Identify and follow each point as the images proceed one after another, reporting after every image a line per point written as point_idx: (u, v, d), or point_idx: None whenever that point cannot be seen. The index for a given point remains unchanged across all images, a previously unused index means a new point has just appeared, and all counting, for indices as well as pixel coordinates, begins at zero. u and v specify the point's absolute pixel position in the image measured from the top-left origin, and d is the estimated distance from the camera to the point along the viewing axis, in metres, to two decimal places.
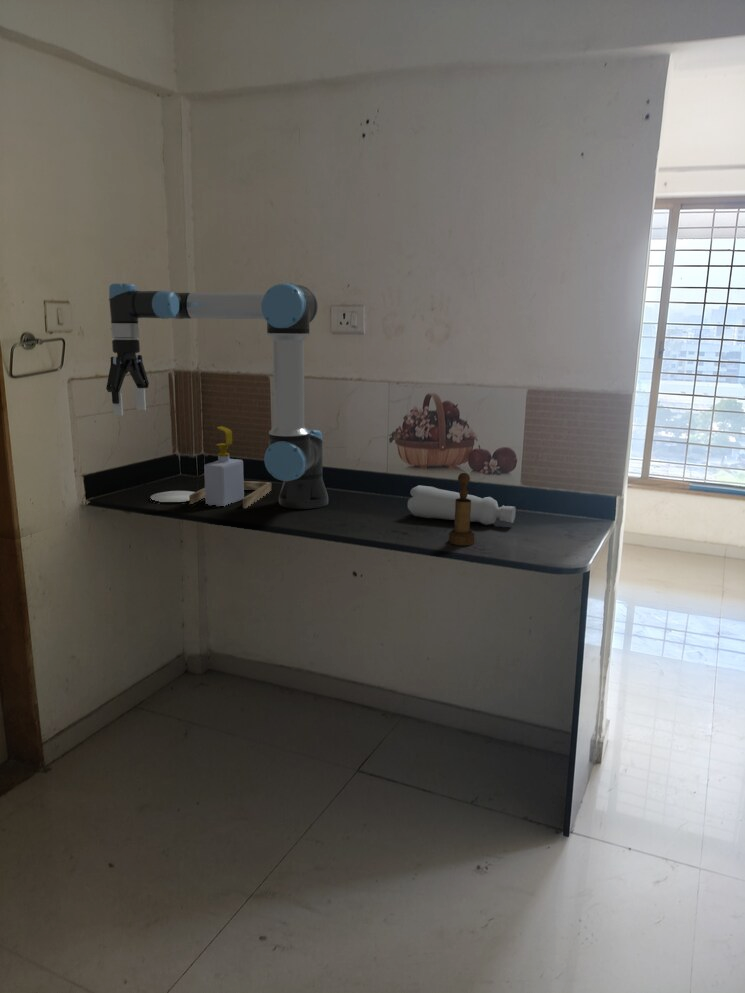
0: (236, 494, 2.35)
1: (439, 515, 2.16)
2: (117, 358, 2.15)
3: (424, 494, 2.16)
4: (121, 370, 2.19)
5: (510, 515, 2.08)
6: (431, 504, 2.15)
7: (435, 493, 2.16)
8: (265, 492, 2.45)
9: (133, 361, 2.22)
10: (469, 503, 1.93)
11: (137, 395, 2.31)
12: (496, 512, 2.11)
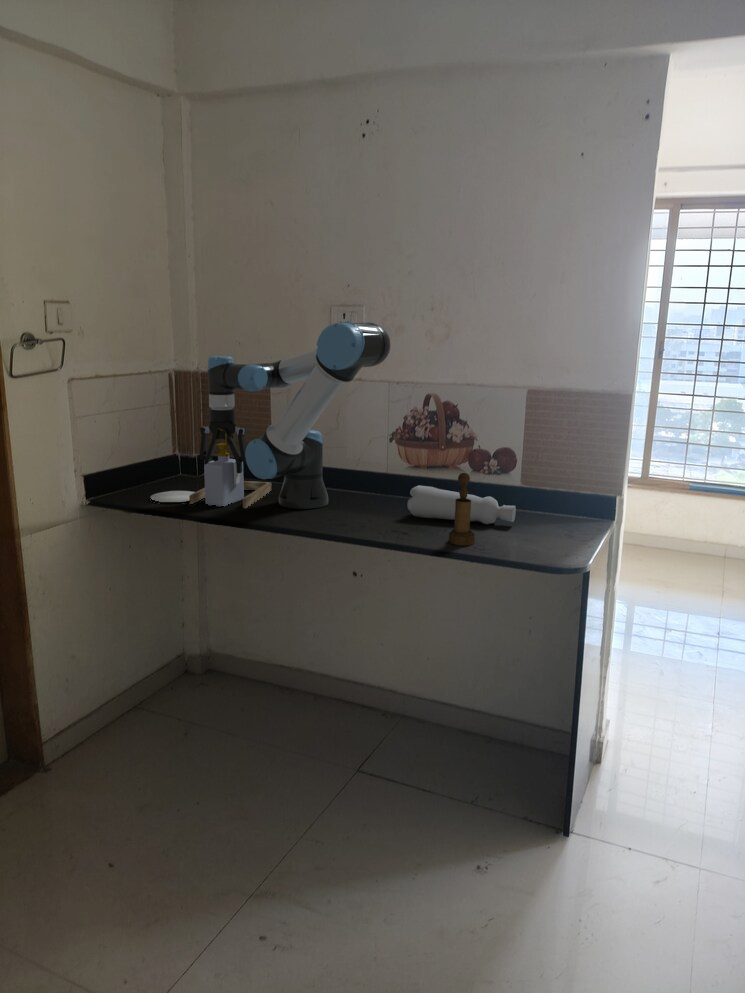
0: (236, 494, 2.35)
1: (439, 515, 2.16)
2: None
3: (425, 494, 2.16)
4: None
5: (511, 515, 2.09)
6: (431, 504, 2.15)
7: (435, 493, 2.16)
8: (265, 492, 2.45)
9: None
10: (469, 503, 1.93)
11: None
12: (497, 511, 2.11)
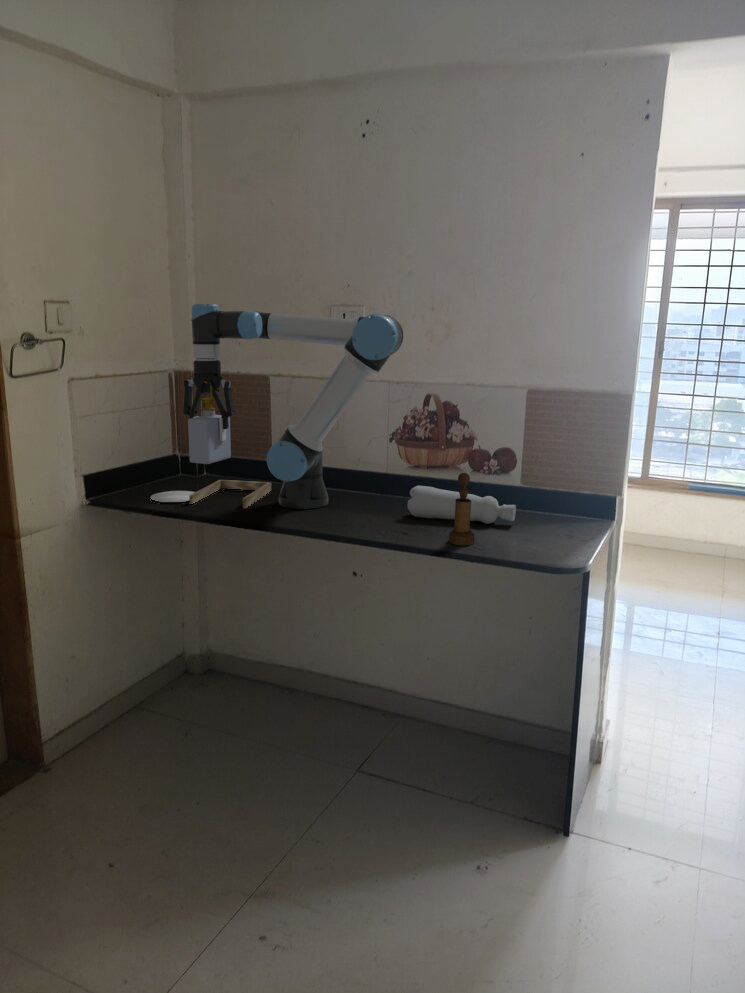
0: (222, 452, 2.22)
1: (440, 515, 2.16)
2: None
3: (425, 494, 2.16)
4: None
5: (512, 514, 2.10)
6: (432, 504, 2.15)
7: (435, 493, 2.16)
8: (265, 492, 2.45)
9: None
10: (469, 503, 1.93)
11: None
12: (497, 510, 2.12)
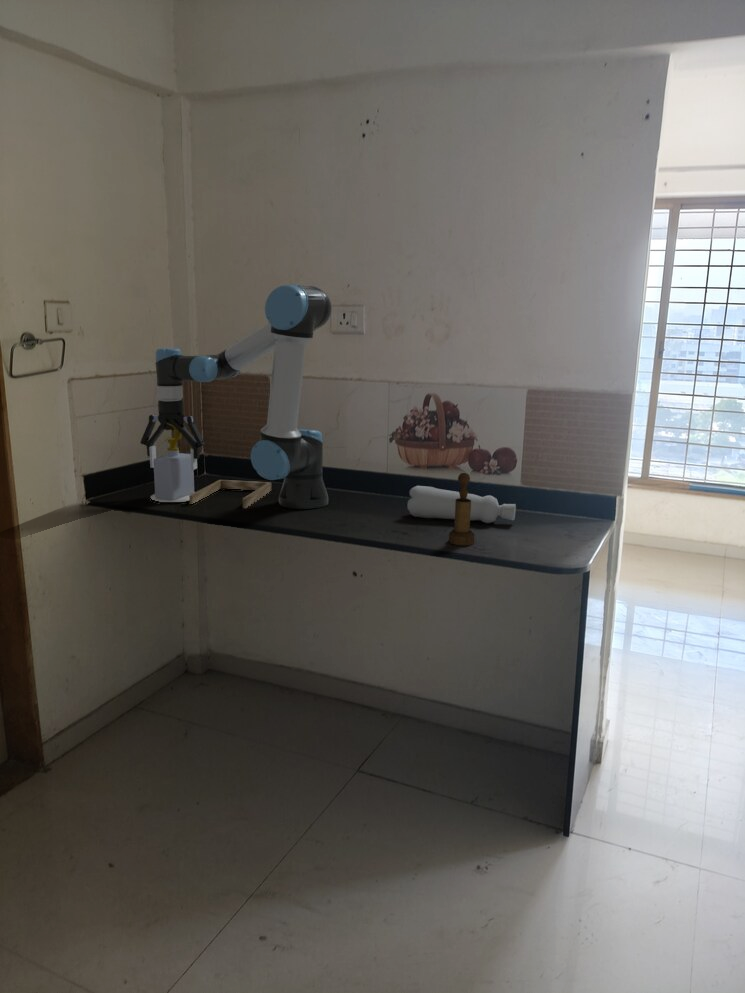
0: (186, 488, 2.39)
1: (440, 515, 2.16)
2: None
3: (425, 494, 2.16)
4: None
5: (513, 513, 2.11)
6: (432, 504, 2.15)
7: (435, 493, 2.16)
8: (265, 492, 2.45)
9: None
10: (469, 503, 1.93)
11: None
12: (497, 510, 2.13)
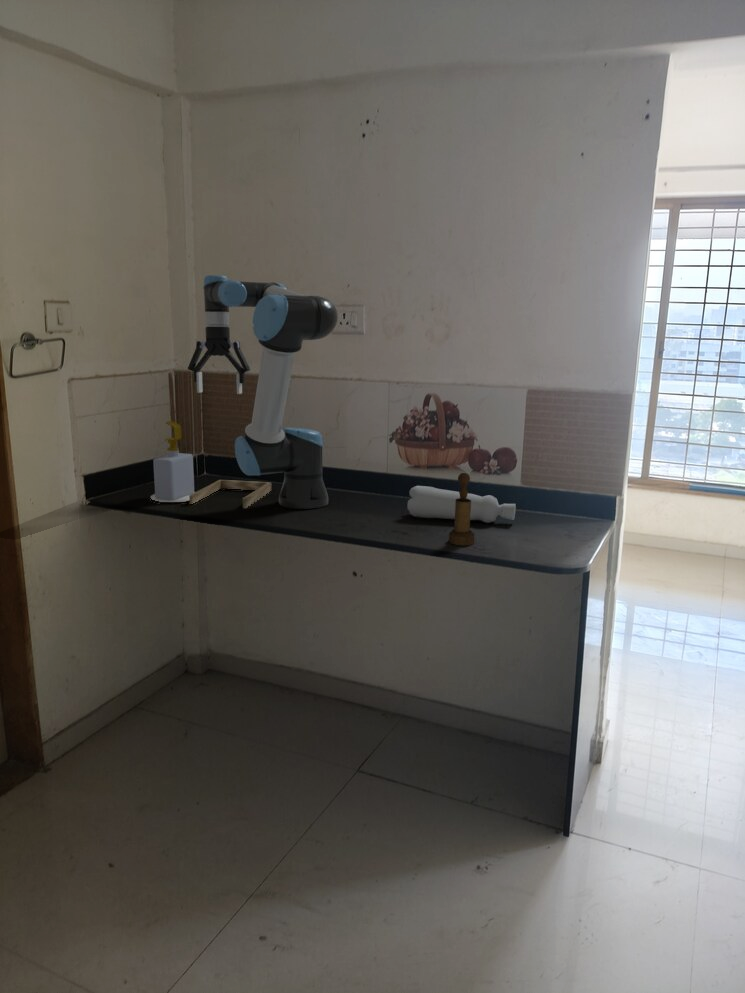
0: (186, 488, 2.39)
1: (440, 515, 2.16)
2: None
3: (425, 494, 2.16)
4: None
5: (513, 513, 2.11)
6: (432, 504, 2.15)
7: (435, 493, 2.16)
8: (265, 492, 2.45)
9: None
10: (469, 503, 1.93)
11: None
12: (498, 509, 2.13)
